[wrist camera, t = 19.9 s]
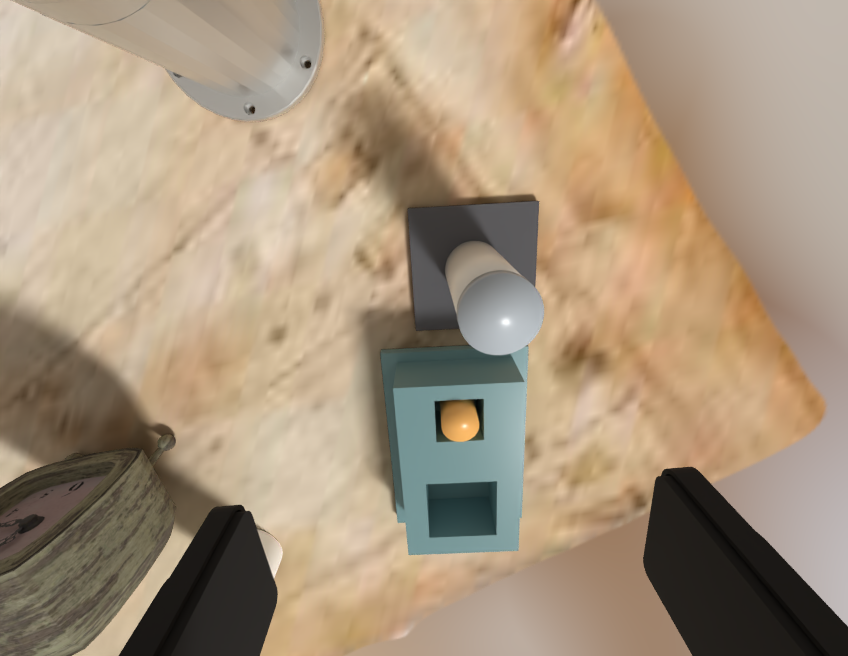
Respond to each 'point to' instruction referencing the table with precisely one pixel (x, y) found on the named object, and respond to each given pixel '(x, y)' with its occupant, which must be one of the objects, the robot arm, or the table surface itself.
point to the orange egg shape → (459, 419)
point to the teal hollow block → (456, 447)
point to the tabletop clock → (77, 546)
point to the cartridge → (492, 300)
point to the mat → (453, 225)
